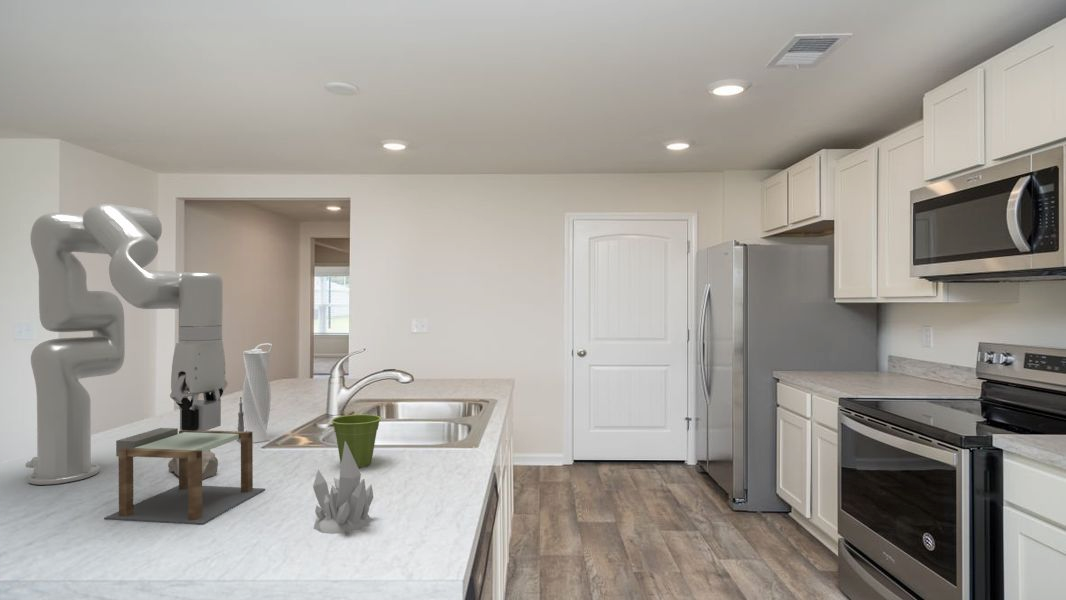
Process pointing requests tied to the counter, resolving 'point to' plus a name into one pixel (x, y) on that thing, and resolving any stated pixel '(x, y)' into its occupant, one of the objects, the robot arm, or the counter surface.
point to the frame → (182, 472)
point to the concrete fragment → (207, 465)
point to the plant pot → (357, 436)
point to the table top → (175, 505)
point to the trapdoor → (175, 440)
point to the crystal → (342, 499)
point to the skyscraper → (255, 395)
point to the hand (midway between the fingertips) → (200, 425)
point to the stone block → (207, 415)
